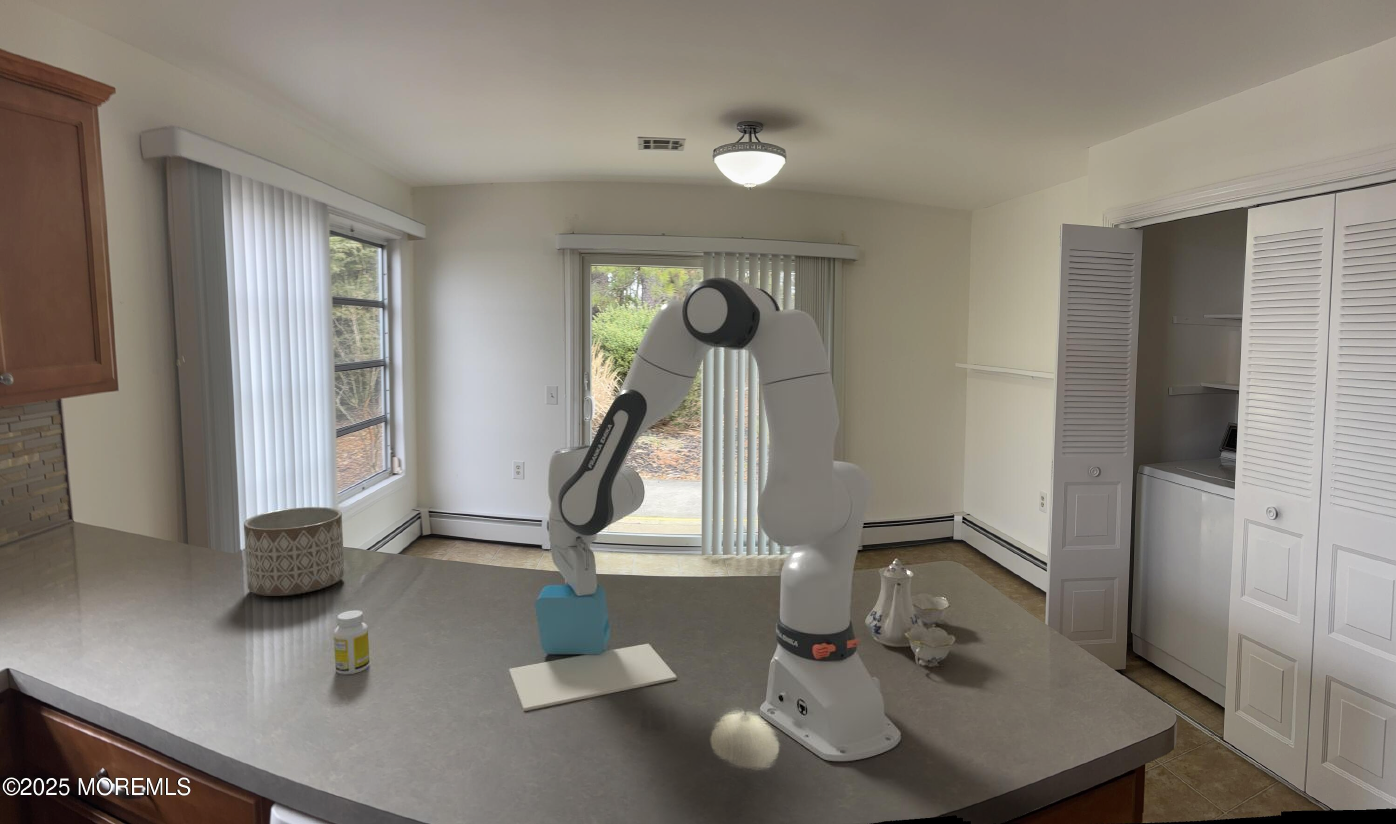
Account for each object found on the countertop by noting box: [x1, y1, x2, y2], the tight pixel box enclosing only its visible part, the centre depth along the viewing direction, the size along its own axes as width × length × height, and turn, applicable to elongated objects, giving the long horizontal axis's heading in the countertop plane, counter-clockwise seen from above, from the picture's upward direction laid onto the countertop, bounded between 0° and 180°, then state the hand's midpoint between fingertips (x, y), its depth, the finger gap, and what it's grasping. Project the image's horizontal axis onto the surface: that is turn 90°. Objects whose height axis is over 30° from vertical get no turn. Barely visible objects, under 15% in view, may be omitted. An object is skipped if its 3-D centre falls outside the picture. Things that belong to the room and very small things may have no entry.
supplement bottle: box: [333, 609, 370, 675], centre depth 122 cm, size 5×5×10 cm
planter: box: [243, 506, 345, 597], centre depth 159 cm, size 19×19×16 cm
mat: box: [508, 643, 678, 712], centre depth 121 cm, size 14×26×1 cm, turn 114°
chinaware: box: [864, 558, 957, 668], centre depth 136 cm, size 28×17×17 cm, turn 168°
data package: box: [534, 584, 611, 655], centre depth 128 cm, size 12×4×12 cm, turn 84°
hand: (573, 601), depth 132 cm, fingers closed
